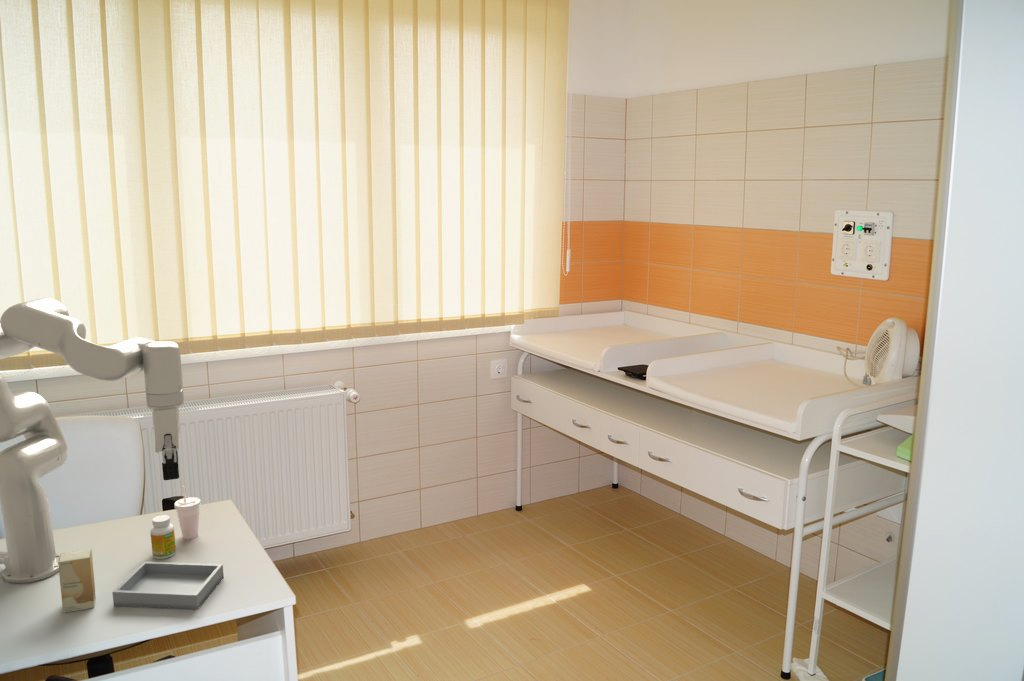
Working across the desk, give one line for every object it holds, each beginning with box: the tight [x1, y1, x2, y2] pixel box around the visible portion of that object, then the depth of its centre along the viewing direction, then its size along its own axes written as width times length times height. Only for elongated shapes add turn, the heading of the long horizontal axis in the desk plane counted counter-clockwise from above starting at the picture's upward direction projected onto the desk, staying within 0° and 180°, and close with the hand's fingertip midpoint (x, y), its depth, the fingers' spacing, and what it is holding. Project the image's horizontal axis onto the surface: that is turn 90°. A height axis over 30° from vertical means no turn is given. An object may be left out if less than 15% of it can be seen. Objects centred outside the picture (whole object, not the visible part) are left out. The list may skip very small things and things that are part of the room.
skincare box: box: [58, 548, 97, 613], centre depth 171 cm, size 6×4×12 cm
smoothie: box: [174, 485, 202, 540], centre depth 204 cm, size 6×6×14 cm
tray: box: [111, 561, 224, 610], centre depth 178 cm, size 19×14×4 cm
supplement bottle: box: [150, 514, 177, 560], centre depth 195 cm, size 5×5×10 cm
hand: (171, 471), depth 175 cm, fingers open, 9 cm apart
